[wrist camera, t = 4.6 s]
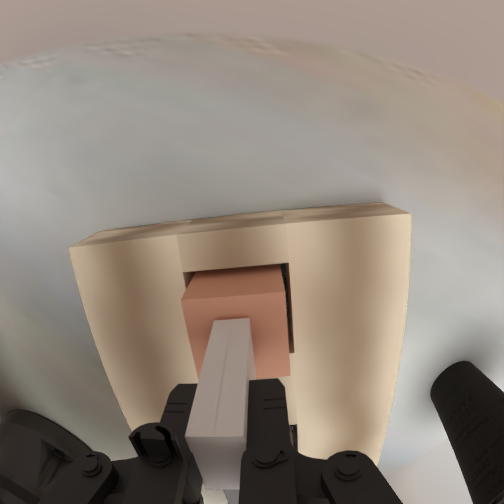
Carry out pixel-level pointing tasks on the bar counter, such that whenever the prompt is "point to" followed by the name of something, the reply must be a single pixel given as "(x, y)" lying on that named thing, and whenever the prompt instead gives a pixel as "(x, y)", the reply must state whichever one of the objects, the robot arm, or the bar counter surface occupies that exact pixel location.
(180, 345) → the panel
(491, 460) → the drinking cup
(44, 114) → the bar counter surface
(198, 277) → the salmon block
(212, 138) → the bar counter surface
